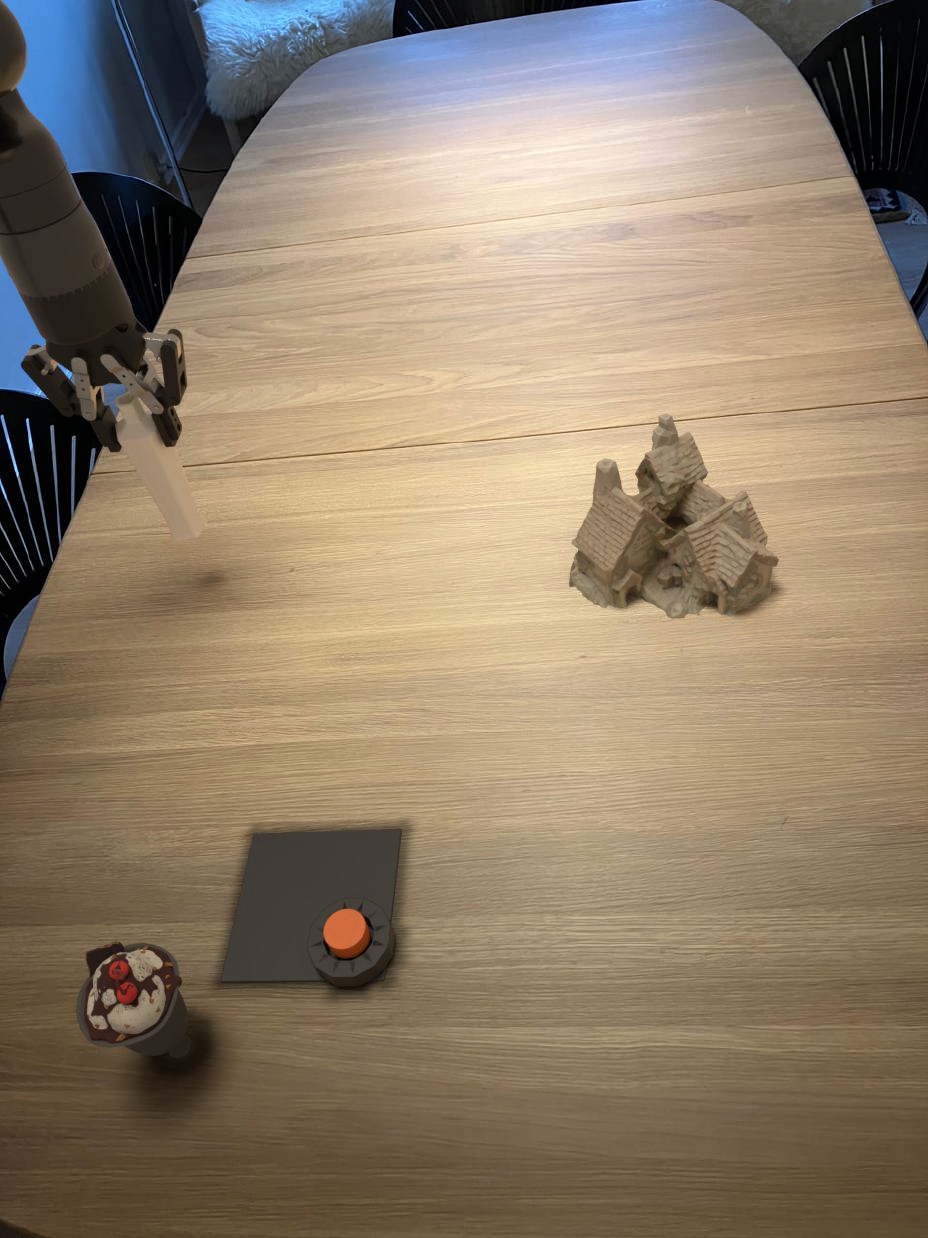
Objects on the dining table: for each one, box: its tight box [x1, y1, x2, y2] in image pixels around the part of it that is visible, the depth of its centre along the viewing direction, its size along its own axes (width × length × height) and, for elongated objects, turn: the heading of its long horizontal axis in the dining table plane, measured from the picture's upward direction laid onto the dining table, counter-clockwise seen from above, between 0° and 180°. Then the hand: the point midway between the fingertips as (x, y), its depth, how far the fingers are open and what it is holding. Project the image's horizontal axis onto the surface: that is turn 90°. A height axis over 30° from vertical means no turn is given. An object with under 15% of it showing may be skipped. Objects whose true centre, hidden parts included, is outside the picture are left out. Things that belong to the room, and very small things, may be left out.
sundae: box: [75, 940, 192, 1059], centre depth 66 cm, size 7×7×15 cm
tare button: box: [323, 909, 370, 959], centre depth 72 cm, size 3×3×2 cm
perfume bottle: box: [114, 391, 208, 542], centre depth 94 cm, size 5×4×15 cm
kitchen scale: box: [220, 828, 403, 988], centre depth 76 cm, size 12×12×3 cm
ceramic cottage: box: [568, 413, 780, 620], centre depth 89 cm, size 16×16×15 cm
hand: (145, 443), depth 92 cm, fingers closed on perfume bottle, 4 cm apart
